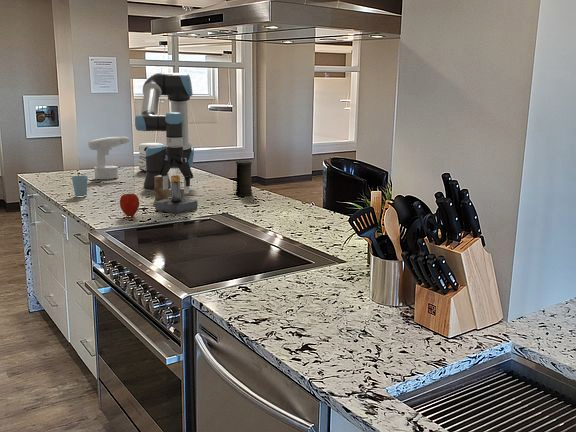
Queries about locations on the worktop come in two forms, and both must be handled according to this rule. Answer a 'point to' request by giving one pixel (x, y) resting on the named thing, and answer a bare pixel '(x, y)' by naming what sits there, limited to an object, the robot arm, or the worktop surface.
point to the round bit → (175, 188)
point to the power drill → (102, 150)
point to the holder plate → (176, 205)
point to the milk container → (144, 154)
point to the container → (244, 178)
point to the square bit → (160, 189)
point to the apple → (129, 204)
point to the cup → (80, 185)
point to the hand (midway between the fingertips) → (176, 191)
